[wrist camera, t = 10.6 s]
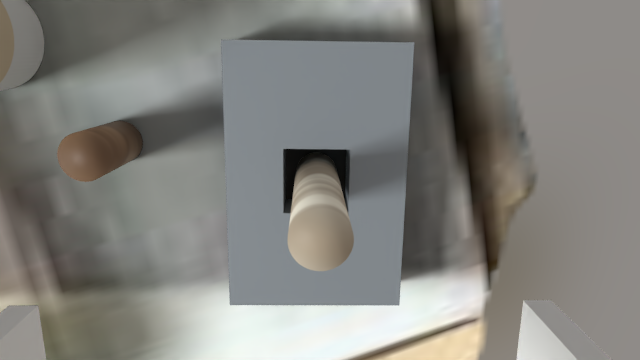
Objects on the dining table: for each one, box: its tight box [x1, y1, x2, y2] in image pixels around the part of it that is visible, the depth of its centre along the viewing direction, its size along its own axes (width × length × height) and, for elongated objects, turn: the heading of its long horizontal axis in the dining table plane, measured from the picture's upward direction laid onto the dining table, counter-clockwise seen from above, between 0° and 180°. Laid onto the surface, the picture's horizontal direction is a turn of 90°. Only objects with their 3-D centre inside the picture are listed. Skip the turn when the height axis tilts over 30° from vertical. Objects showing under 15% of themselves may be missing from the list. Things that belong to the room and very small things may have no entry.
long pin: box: [288, 152, 354, 271], centre depth 28 cm, size 3×3×14 cm
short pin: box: [57, 121, 143, 182], centre depth 31 cm, size 3×3×6 cm
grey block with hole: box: [221, 40, 414, 305], centre depth 33 cm, size 18×12×4 cm, turn 179°
